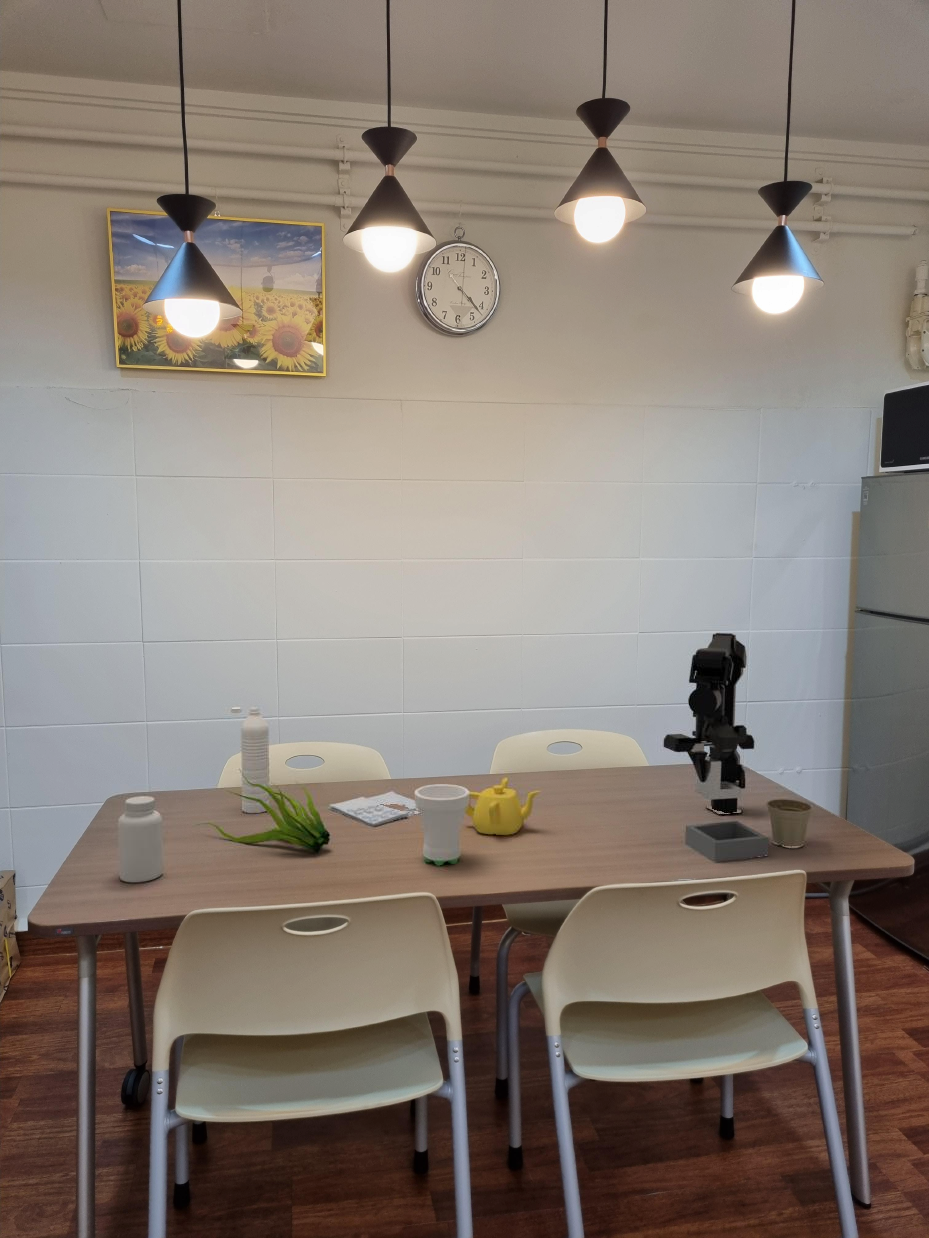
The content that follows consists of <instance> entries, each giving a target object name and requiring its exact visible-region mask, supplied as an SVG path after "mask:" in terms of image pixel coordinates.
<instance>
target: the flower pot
mask: <svg viewBox="0 0 929 1238" xmlns="http://www.w3.org/2000/svg"><path fill="white" fill-rule="evenodd" d="M765 806H766V807H767V810H768V811H767V812H768V813H769V817H770V825H771V826H770V827H771V833H772V841H774V842H775V843H777V844H779V846H780V845H784V846H791V847H792V846H801V845H803V844H804V845H805V842H806V836H807V829H808V824H809V818H810V816H811V814H812V811H813V810H814V806H813V805H812V804H810V803H808V802H806V801H803V800H798V799H790V798H775V799H774V798H773V799H770V800H767V801H766V803H765ZM774 842H773V843H774Z"/></svg>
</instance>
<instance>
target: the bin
mask: <svg viewBox="0 0 929 1238" xmlns="http://www.w3.org/2000/svg"><path fill="white" fill-rule="evenodd" d="M685 843H686V844H687V845H686V844H685V845H686V846H688V845H689V846H688V847H690V846H691V847H692V848H691V847H690V848H691V849H693V850H694V849H695V850H694V851H696V852H697V851H698V852H697V853H699V854H700V855H702V856H704V857H706V858H708V859H709V860H710V861H711V862H713V863H719V862H727V861H729V862H730V861H739V860H740V861H741V860H747V859H746V858H749V859H752V858H751V857H758V856H765V855H768V854H769V836H766V835H765V834H762V833H760V832H758V831H757V830H755V829H752V828H751V827H749V826H747V825H745V824H743V823H741V822H739V821H738V820H733V821H720V822H711V823H702V824H701V823H698V824H690V825H685ZM768 856H769V855H768ZM758 858H759V857H758Z"/></svg>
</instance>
